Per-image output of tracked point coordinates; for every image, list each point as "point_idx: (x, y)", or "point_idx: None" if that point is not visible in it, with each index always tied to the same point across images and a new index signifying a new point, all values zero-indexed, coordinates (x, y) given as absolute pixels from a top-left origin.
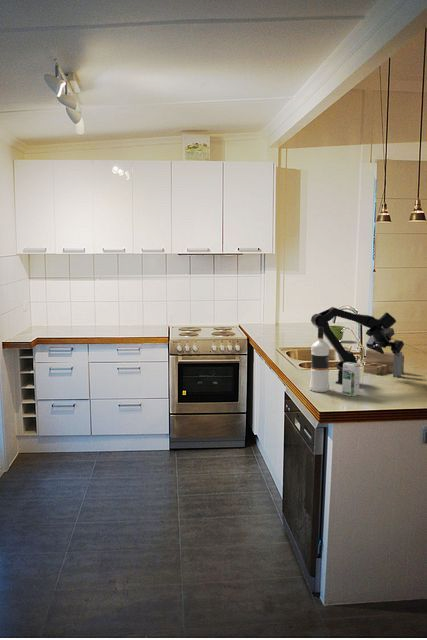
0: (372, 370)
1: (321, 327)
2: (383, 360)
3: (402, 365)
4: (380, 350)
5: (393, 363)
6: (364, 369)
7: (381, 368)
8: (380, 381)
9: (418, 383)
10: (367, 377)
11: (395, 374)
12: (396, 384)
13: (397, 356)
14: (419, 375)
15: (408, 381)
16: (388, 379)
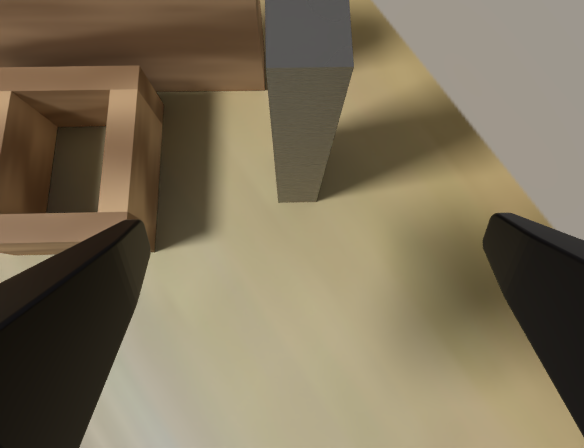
0: None
1: None
2: (55, 26)
3: (259, 14)
4: (92, 342)
5: (275, 157)
6: (4, 251)
7: (139, 173)
8: (317, 441)
9: None
10: (149, 402)
11: (302, 195)
12: (469, 421)
13: (336, 105)
14: (370, 18)
15: (450, 241)
16: (313, 312)
